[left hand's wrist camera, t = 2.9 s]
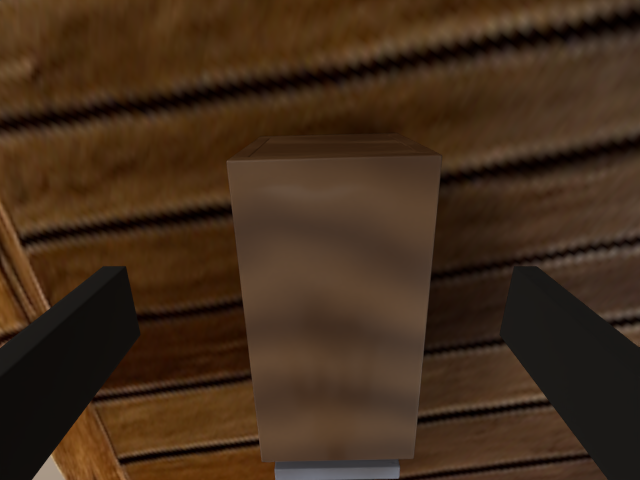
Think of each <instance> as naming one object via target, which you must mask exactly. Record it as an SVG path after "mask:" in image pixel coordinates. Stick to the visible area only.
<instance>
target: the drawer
mask: <svg viewBox="0 0 640 480" xmlns="http://www.w3.org/2000/svg"><path fill="white" fill-rule="evenodd" d="M399 473H400V465H399V460H398V459H382V460H334V461H287V462H275V478H276V480H374V479H396V478H399Z"/></svg>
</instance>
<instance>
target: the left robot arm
mask: <svg viewBox="0 0 640 480" xmlns="http://www.w3.org/2000/svg"><path fill="white" fill-rule="evenodd" d="M139 336H140V330H139V325H138V321H137V316H136V311H135V307H134V302H133V297H132V293H131V288H130V283H129V279H128V274H127V269H126V266H103V267H102V268H101V269H99V270H98V271H97V272H96V273H94V274H93V275H92V276H91V277H89V278H88V279H87V280H85V281H84V282H83V283H82V284H80V285H79V286H78V287H77V288H75V289H74V290H73V291H72V292H70V293H69V294H68V295H67V296H65V297H64V298H63V299H62V300H60V301H59V302H58V303H56V304H55V305H54V306H53V307H51V308H50V309H49V310H48V311H46V312H45V313H44V314H43V315H41V316H40V317H39V318H38V319H36V320H35V321H34V322H32V323H31V324H30V325H29V326H27V327H26V328H25V329H24V330H22V331H21V332H20V333H19V334H17V335H16V336H15V337H14V338H12V339H11V340H10V341H9V342H7V343H6V344H5V345H3V346H2V347H1V348H0V480H32V479H33V478H34V476H35V475H36V474H37V472H38V471H39V470H40V468H41V467H42V466H43V464H44V463H45V462H46V460H47V459H48V458H49V456H50V455H51V454H52V452H53V451H54V450H55V448H56V447H57V446H58V444H59V443H60V442H61V440H62V439H63V437H64V436H65V435H66V433H67V432H68V431H69V429H70V428H71V427H72V425H73V424H74V423H75V421H76V420H77V419H78V417H79V416H80V415H81V413H82V412H83V411H84V409H85V408H86V407H87V405H88V404H89V403H90V401H91V400H92V399H93V397H94V396H95V395H96V393H97V392H98V391H99V389H100V388H101V387H102V385H103V384H104V383H105V381H106V380H107V379H108V377H109V376H110V375H111V373H112V372H113V371H114V369H115V368H116V367H117V365H118V364H119V363H120V361H121V360H122V359H123V357H124V356H125V355H126V353H127V352H128V351H129V349H130V348H131V347H132V345H133V344H134V343H135V341H136V340H137V339H138V337H139ZM500 336H501V337H502V339H503V340H504V341H505V343H506V344H507V345H508V347H509V348H510V349H511V351H512V352H513V353H514V355H515V356H516V357H517V359H518V360H519V361H520V363H521V364H522V365H523V367H524V368H525V369H526V371H527V372H528V373H529V375H530V376H531V377H532V379H533V380H534V381H535V383H536V384H537V385H538V387H539V388H540V389H541V391H542V392H543V393H544V395H545V396H546V397H547V399H548V400H549V401H550V403H551V404H552V405H553V407H554V408H555V409H556V411H557V412H558V413H559V415H560V416H561V417H562V419H563V420H564V421H565V423H566V424H567V425H568V427H569V428H570V429H571V431H572V432H573V433H574V435H575V436H576V437H577V439H578V440H579V442H580V443H581V444H582V446H583V447H584V448H585V450H586V451H587V452H588V454H589V455H590V456H591V458H592V459H593V460H594V462H595V463H596V464H597V466H598V467H599V468H600V470H601V471H602V472H603V474H604V475H605V476H606V478H607V479H608V480H640V347H638V346H637V345H635V344H634V343H633V342H631V341H630V340H629V339H628V338H626V337H625V336H624V335H623V334H621V333H620V332H619V331H618V330H616V329H615V328H614V327H613V326H611V325H610V324H609V323H608V322H606V321H605V320H604V319H602V318H601V317H600V316H599V315H597V314H596V313H595V312H594V311H592V310H591V309H590V308H589V307H587V306H586V305H585V304H584V303H582V302H581V301H580V300H578V299H577V298H576V297H575V296H573V295H572V294H571V293H570V292H568V291H567V290H566V289H565V288H563V287H562V286H561V285H560V284H558V283H557V282H556V281H555V280H553V279H552V278H551V277H549V276H548V275H547V274H546V273H544V272H543V271H542V270H541V269H539V268H538V267H537V266H514V269H513V274H512V279H511V283H510V288H509V293H508V297H507V302H506V307H505V311H504V316H503V321H502V325H501V330H500Z"/></svg>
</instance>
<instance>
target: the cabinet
mask: <svg viewBox="0 0 640 480" xmlns="http://www.w3.org/2000/svg"><path fill="white" fill-rule="evenodd" d="M441 164H442V155H441V154H439V153H437V152H435V151H433V150H431V149H429V148H427V147H425V146H423V145H420V144H418V143H416V142H414V141H412V140H410V139H408V138H406V137H404V136H402V135H400V134H398V133H375V134H338V135H301V136H265V137H259V138H258V139H257V140H255V141H254V142H252V143H251V144H250V145H248V146H247V147H245V148H244V149H243V150H241V151H240V152H238V153H237V154H236V155H234V156H233V157H231V158H230V159H229V160H227V171H228V179H229V188H230V196H231V205H232V213H233V222H234V230H235V239H236V247H237V256H238V264H239V272H240V281H241V289H242V298H243V306H244V315H245V323H246V332H247V340H248V349H249V357H250V366H251V374H252V382H253V391H254V399H255V408H256V416H257V425H258V433H259V442H260V450H261V459H262V462H287V461H334V460H382V459H413V458H414V449H415V439H416V428H417V418H418V407H419V396H420V386H421V375H422V365H423V354H424V343H425V333H426V322H427V312H428V301H429V291H430V280H431V269H432V259H433V248H434V238H435V227H436V217H437V206H438V195H439V185H440V174H441Z"/></svg>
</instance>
